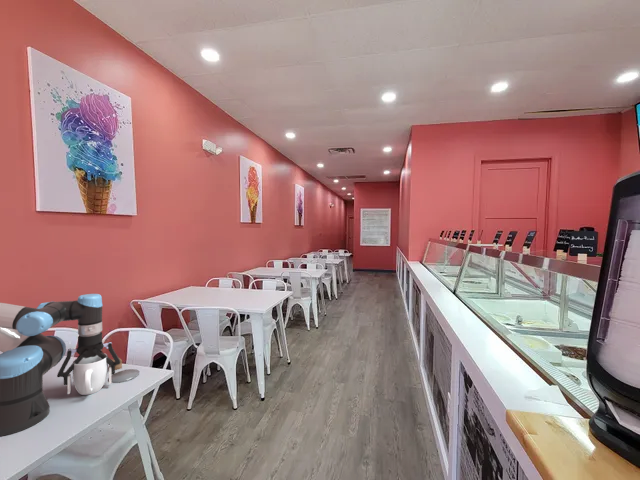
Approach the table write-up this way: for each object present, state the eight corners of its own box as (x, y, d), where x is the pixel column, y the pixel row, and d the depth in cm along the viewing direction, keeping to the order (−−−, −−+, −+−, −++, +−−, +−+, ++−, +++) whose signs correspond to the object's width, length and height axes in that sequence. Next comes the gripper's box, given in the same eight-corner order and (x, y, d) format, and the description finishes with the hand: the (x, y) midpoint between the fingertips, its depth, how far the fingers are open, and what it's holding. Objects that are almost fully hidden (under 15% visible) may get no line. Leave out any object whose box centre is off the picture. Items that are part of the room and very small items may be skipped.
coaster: (109, 385, 118) (109, 384, 118) (108, 375, 127) (108, 373, 127) (140, 377, 124) (140, 376, 124) (138, 368, 133) (138, 367, 133)
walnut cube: (111, 371, 130) (111, 362, 130) (108, 368, 132) (108, 360, 132) (121, 368, 133) (121, 359, 133) (118, 365, 136) (118, 357, 136)
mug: (106, 397, 109) (106, 364, 109) (68, 407, 103) (68, 371, 103) (108, 381, 121) (108, 350, 121) (75, 388, 115) (75, 356, 115)
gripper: (46, 343, 102) (46, 402, 103) (127, 330, 117) (127, 381, 117) (49, 337, 108) (50, 392, 109) (126, 325, 123) (126, 374, 123)
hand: (90, 387), depth 113 cm, fingers open, 12 cm apart
